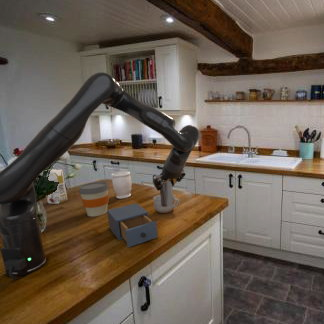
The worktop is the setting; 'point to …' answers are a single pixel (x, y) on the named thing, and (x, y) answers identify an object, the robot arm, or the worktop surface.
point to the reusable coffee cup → (95, 198)
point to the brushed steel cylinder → (166, 194)
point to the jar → (122, 184)
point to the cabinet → (123, 216)
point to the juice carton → (60, 193)
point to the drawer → (138, 230)
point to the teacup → (160, 208)
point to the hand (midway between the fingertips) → (164, 187)
